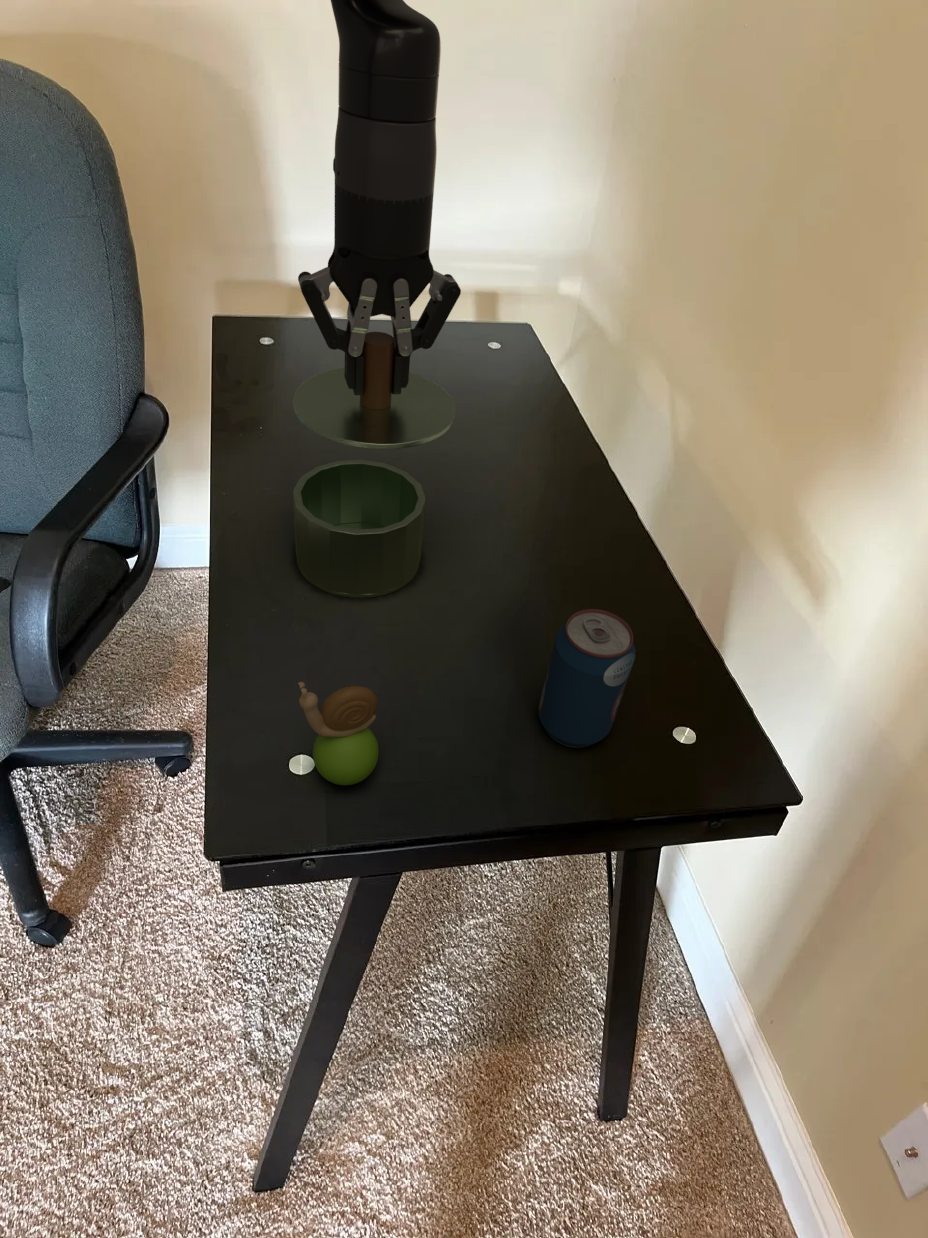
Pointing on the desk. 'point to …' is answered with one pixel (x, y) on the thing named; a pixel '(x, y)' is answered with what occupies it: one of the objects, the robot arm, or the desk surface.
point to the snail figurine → (343, 733)
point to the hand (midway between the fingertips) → (376, 389)
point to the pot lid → (374, 404)
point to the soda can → (586, 677)
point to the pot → (358, 527)
